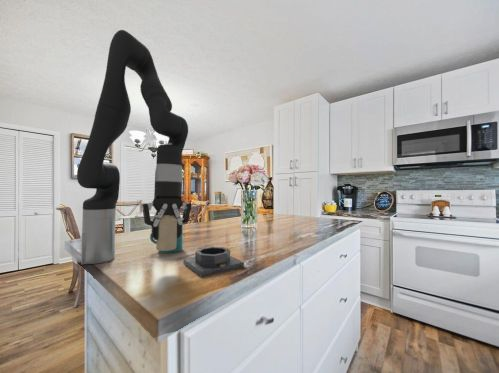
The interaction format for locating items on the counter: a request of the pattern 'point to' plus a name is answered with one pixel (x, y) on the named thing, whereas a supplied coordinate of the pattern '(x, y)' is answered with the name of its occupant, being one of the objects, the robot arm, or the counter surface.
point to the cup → (178, 247)
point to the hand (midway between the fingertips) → (166, 238)
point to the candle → (167, 233)
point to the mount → (212, 261)
